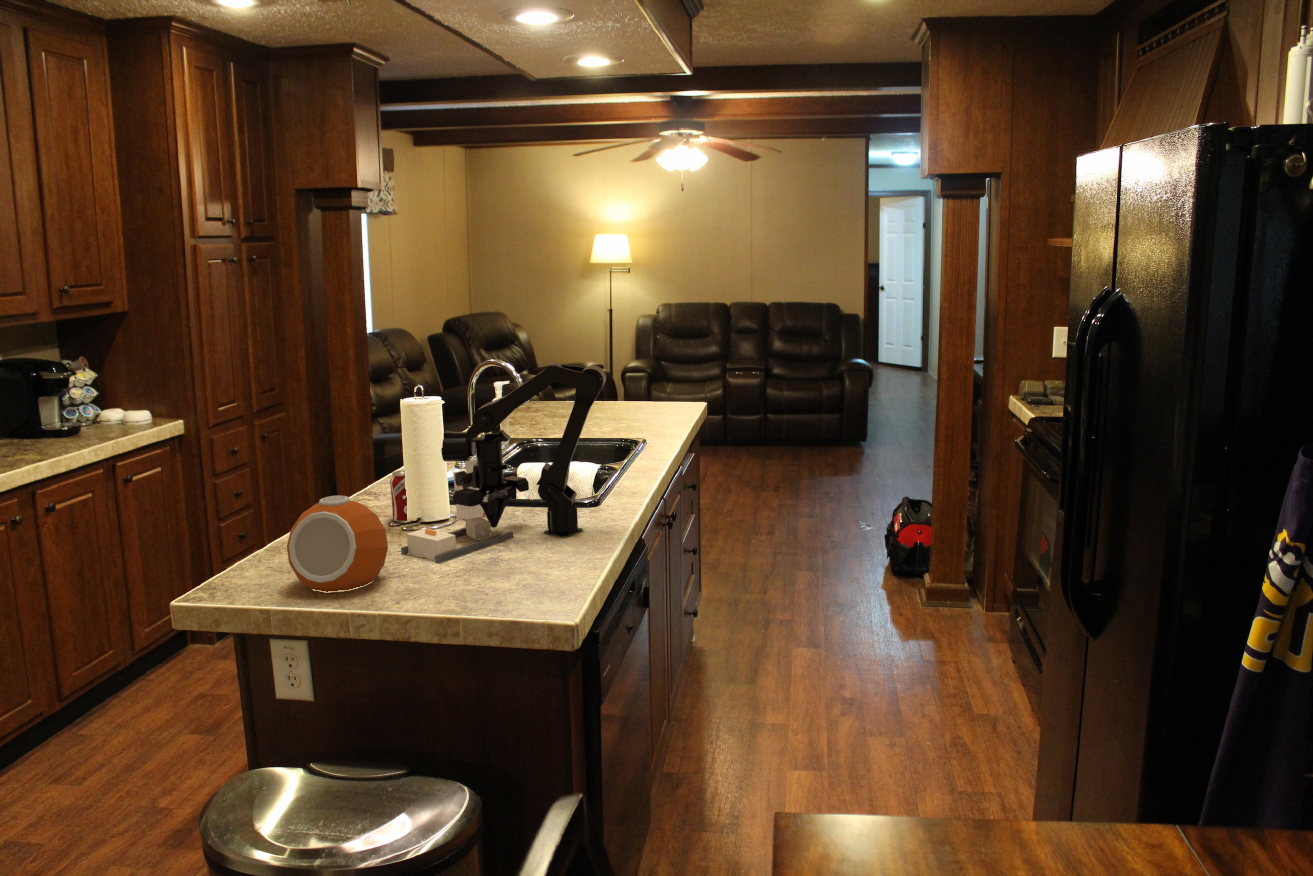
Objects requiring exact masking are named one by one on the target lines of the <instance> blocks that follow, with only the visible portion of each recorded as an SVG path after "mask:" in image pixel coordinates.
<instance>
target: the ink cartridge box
mask: <svg viewBox="0 0 1313 876" xmlns="http://www.w3.org/2000/svg"><path fill="white" fill-rule="evenodd" d="M475 464H477V457H476V458H472V459H470V461H464V465H465V468H463V469H458V470H455V471H452V473H453V486H454V492H455V491H458V490H462V489H463V487H462V486H459V487H458V486H457V485H456V482H455V473H457V472H460V471H465V472H466V473H467V474H468V473H471V472H473V467H474V465H475ZM468 488H469V489H474V490H479V488H472V487H468ZM487 492H489V491H487ZM455 508H456V509H455V511H456V518H457V519H461V520H468V519H472V518H477V517H480V518H482V517H485V516H486V514H485V512H484V510H483V508H482V507H481V506H480V505H475V506H470V507H468V506H463V505H458V504H455Z"/></svg>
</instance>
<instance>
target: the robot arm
mask: <svg viewBox="0 0 1313 876" xmlns="http://www.w3.org/2000/svg"><path fill="white" fill-rule="evenodd" d="M606 380H607V375H606V373H605V370H604V369H602V367H600V366H598V365H589V366H586V367H583V366H578V365H569V364H562V363H560V362H559V363H558V362H552V363H549V364H548V365H547V366H546V367H545V369H543V370H541V371H540V372H538V373H537V374H536V375H535V376H533V377H531V378H530V379H529V380H527V381H525V382H523V384H521V385H519V386H518V387H517V388H516V389H514V390H512V391H511V392H510V393H508V394H506V395H503V396H502V397H499V398H498V399H493V400H492V401H489V402H487V403H485V404H483V405H482V406H480V407H479V408H478V409H477V410H476V411H475V412H474V413H473V415H472V419H471V420H472V424H471V425H470V427H468V429H467V430H466V431H452V430H451V431H450V430H449V431H448V430H446V431H444V432H443V434H442V435H443V439H442V444H441V446H442V447H441V449H440V450H441V451H440V452H441V457H442V461H443V462H465V461H470V460H472V459H471V458H472V457H473V458H474V457H475V456H476V458H477V463H476V464H474V467H473V472H471V473H468V474H467V473H466V472H465V471H460V472H457V473H455V482H456V485H457V486H458V487H459V486H462V487H463V489H462V490H458V491H455V490H454V493H453V494H452V502H453V503H452V504H453V505H454V504H455V505H456V504H458V505H463V506H468V507H470V506H475V505H480V506H481V507H482V508H483V510H484V512H485V514H486V520H487V521H489V522H490V526H491V528H493V529H495V528H497V527H498V525H499V522H500V520H501V519H502V515H503V513H504V511H505V509H506V506H507V505H508V503H509V501H510V500H512V498H513V496H512V495H508V491H510V490H513V489H516V490H517V491H518V492H519V493H524V492H526V491H527V492H528V491H529V490H530V485H529V483H530V482H529V480H528V479H527V478H526V477H521V476H515V475H511V476H506V477H505V476H504V470H507V469H508V466H507V465H508V464H506V463H503V462H504V460H503V442H504V443H506V442H508V441H509V440H511V436H510V435H509V434H507V433H506V431H505V430H504V429H500V431H499V432H497V433H494V432H493V431H495V430H496V429H497V428H498V427H499V426H500V425H501V424H502V423H503V422H504V421H505V420H506V419H507V418H509V416H510V415H511V414H512V413H513V412H514V411H515V410H516V409H518V408H519V407H521V406H522V405H524V404H525V403H526V402H528V401H529V400H531V399H532V398H534V397H535V396H536V395H538V394H539V393H541V392H542V391H544V390H546V389H547V388H549V387H551V386H552V385H553V384H555V383H557V384H561V385H565V386H567V387H571V388H575V393H574V401H573V406H572V409H571V412H570V414H569V417H568V421H567V423H566V425H565V429H564V431H563V435H562V437H561V440H560V443H559V445H558V447H557V450H556V453H555V456H554V458H553V461H552V463H551V464H550V463H548V462H545V464H543V467H542V468H541V472H540V478H539V479H538V481H537V482H536V484H535V485H536V486H538V487H537V494H538V495H539V498H540V499H541V500H542V501H543V502H545V503H546V506H547V512H546V519H547V529H546V530H544V531H543V533H544V534H545V535H551V536H555V537H561V538H566V537H570V536H572V535H575V534H578V533H580V532H583V531H584V529H583V528H581V527H579V522H578V506H577V505H575V504H574V502H575V501H576V498H577V492H576V491H575V490H574V489H573V488H572V487H570V485H568V481H569V476H570V468H571V467H570V466H571V463H572V459H573V457H574V454H575V451H576V448H577V445H578V442H579V440H580V437H581V435H582V432H583V430H584V426H585V424H586V421H587V418H588V415H589V413H590V410H591V408H592V406H593V405H594V402H595V401H596V399H597V398H598V396H599V394H600V392H601V391H602V389H603V387H604V386H605V384H606ZM483 433H484V434H485V435H484V436H480V437H478V436H479V435H480V434H483ZM468 487H472V488H479V490H474V489H469V488H468ZM487 491H489V492H487Z"/></svg>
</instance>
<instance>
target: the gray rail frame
mask: <svg viewBox="0 0 1313 876" xmlns="http://www.w3.org/2000/svg"><path fill="white" fill-rule="evenodd" d="M447 533H448V534H453V535H455V538H456V539H458V538H461V537H465V536H467V535H466V526H465V527H461V528H458V529H456V530H453V531H449V532H447ZM511 539H514V531H513V530H508V531H504V532H503V533H499V534H496V535H493V536H490V537H489V538H485V539H481V540H477V541H475V542H472V543H470V544H465V545H464V546H460V547H456V549H454V550H451V551H448V552H445V553H442V554H439V555H436V556H435V560H434V562H435V563H436V564H441V563H444V562H447V561H450V560H453V559H455V558H458V557H462V556H465V555H468V554H470V553H473V552H477V551H479V550H482V549H485V548H487V547H490V546H494V545H497V544H500V543H502V542H503V543H504V542H505V541H507V540H511ZM407 553H408V545H405V546H402V547H400V554H401V555H402V554H406V555H408V554H407Z"/></svg>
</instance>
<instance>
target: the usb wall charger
mask: <svg viewBox="0 0 1313 876" xmlns="http://www.w3.org/2000/svg"><path fill="white" fill-rule="evenodd" d="M465 527H466V535H465V536H467V537H469V538H471V539H473V540H476V541H481V540H484V539H487V538H490V537H492V534H493V530H492V529H491V528H492V527H491V526H490V522H489V521H488V519H485V518H482V517H477V518H472V519H468V520H466V521H465Z"/></svg>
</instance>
